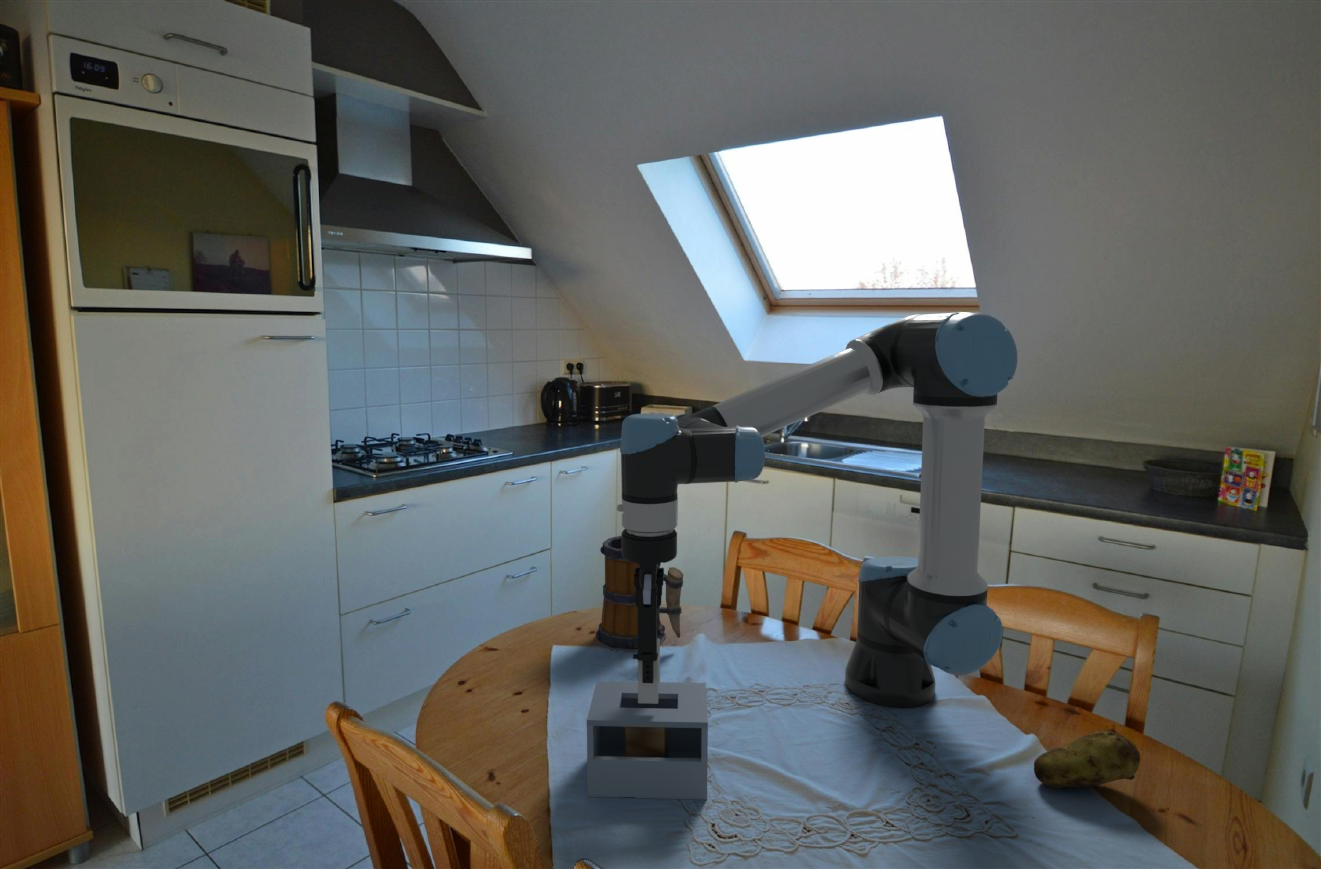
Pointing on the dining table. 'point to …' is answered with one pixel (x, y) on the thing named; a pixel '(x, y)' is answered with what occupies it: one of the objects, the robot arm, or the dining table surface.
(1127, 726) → the dining table surface
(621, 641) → the mug
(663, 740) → the brown wooden block
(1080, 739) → the potato
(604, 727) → the coin box
